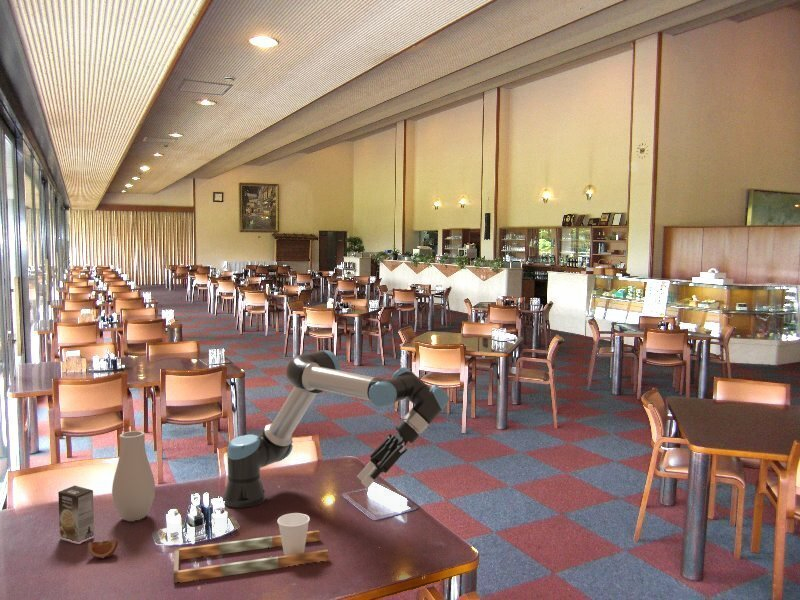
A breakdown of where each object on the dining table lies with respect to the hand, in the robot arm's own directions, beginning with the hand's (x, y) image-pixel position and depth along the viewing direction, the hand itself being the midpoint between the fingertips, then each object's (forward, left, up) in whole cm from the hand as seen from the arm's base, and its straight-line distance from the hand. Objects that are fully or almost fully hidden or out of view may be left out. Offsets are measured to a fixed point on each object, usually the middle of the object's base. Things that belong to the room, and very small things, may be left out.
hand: (361, 482), depth 205 cm
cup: (-13, -17, -20) cm, 30 cm away
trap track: (-21, -27, -20) cm, 40 cm away
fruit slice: (-60, -51, -21) cm, 82 cm away
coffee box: (-78, -49, -20) cm, 95 cm away
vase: (-77, -29, -20) cm, 85 cm away
